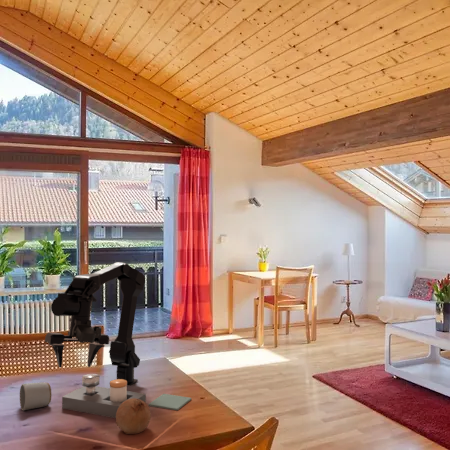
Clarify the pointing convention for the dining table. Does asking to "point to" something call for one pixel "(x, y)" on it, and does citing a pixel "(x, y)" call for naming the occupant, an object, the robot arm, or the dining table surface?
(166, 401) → the mat
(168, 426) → the dining table surface
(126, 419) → the onion
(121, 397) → the small lidded jar
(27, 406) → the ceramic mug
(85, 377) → the plunger
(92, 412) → the housing
